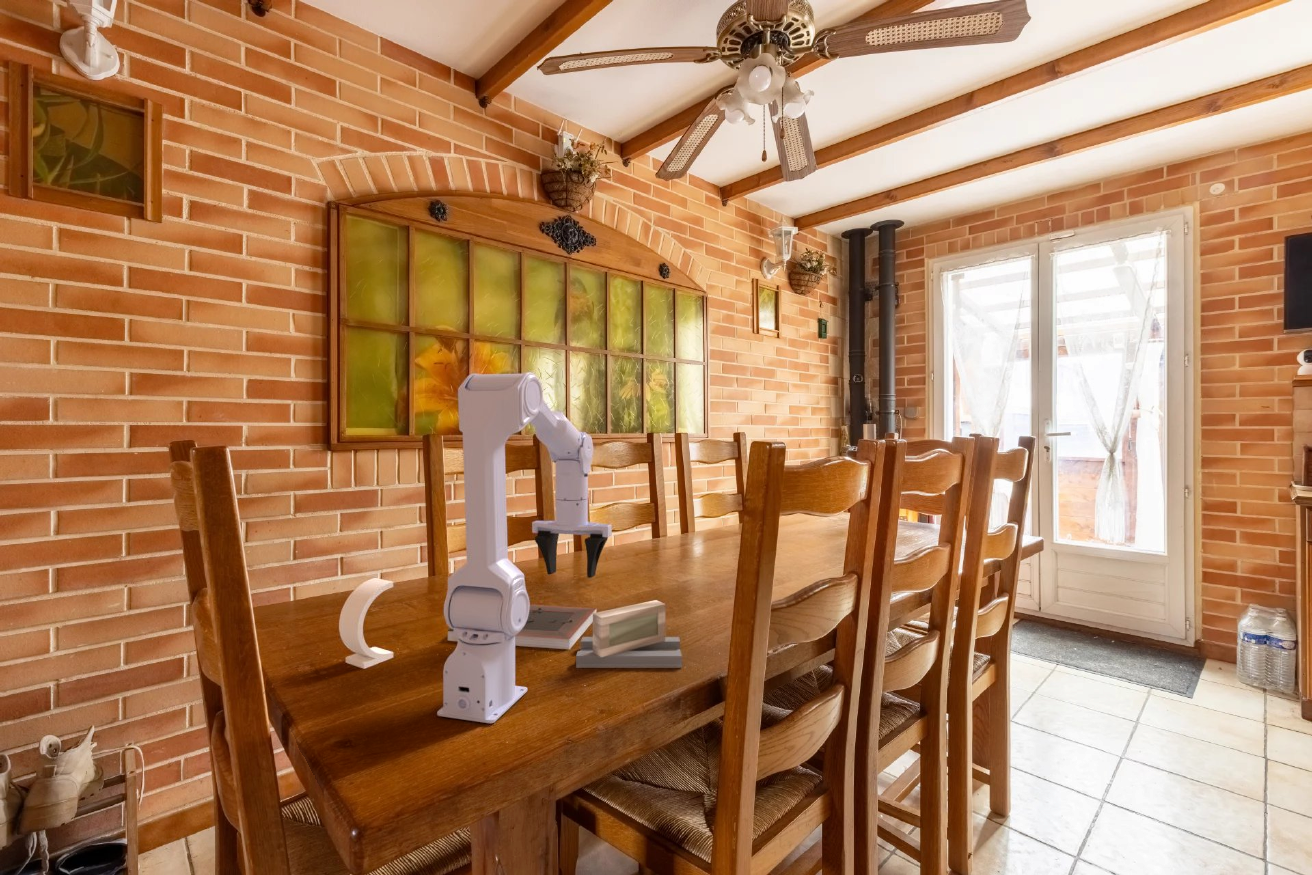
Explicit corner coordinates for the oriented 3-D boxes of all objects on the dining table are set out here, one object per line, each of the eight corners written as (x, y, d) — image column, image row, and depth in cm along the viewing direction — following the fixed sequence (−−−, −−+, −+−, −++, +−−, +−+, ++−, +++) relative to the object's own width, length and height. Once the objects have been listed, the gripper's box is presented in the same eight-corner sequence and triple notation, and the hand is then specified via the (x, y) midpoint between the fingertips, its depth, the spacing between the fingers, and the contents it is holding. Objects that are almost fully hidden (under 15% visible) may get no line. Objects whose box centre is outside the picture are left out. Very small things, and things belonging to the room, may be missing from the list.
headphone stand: (393, 657, 92) (393, 581, 92) (357, 671, 87) (357, 591, 87) (375, 651, 94) (374, 577, 94) (338, 664, 89) (338, 586, 89)
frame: (665, 640, 95) (665, 603, 95) (601, 657, 88) (601, 617, 88) (655, 635, 97) (656, 600, 97) (592, 651, 90) (592, 613, 90)
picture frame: (447, 644, 99) (569, 653, 96) (447, 629, 99) (569, 638, 96) (491, 613, 116) (596, 620, 112) (491, 600, 116) (596, 607, 112)
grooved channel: (681, 667, 89) (681, 656, 89) (576, 667, 88) (576, 655, 88) (679, 647, 97) (679, 636, 97) (582, 647, 96) (582, 636, 96)
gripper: (617, 497, 106) (617, 572, 106) (544, 494, 110) (544, 566, 110) (603, 502, 99) (603, 582, 99) (526, 499, 103) (526, 575, 103)
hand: (571, 574), depth 104 cm, fingers open, 7 cm apart
